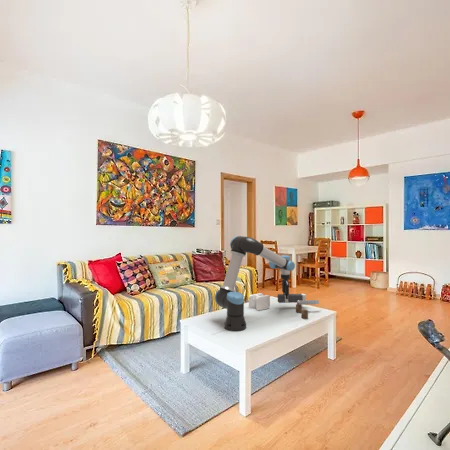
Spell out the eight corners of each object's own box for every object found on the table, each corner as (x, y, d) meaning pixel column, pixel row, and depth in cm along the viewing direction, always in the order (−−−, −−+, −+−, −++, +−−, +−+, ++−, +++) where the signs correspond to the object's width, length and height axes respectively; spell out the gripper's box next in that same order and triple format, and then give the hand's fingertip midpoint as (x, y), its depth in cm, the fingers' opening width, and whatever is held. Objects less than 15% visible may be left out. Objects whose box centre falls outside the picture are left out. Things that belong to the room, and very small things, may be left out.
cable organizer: (256, 311, 232) (256, 297, 232) (248, 308, 241) (248, 294, 241) (270, 308, 240) (270, 294, 240) (261, 305, 249) (261, 292, 249)
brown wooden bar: (302, 318, 214) (302, 310, 214) (295, 311, 231) (295, 304, 231) (308, 318, 214) (307, 310, 214) (300, 311, 231) (300, 304, 231)
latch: (318, 304, 229) (318, 300, 229) (297, 305, 228) (297, 301, 228) (317, 303, 232) (317, 299, 232) (296, 303, 231) (296, 300, 231)
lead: (279, 302, 237) (279, 295, 237) (277, 301, 242) (277, 294, 242) (306, 302, 238) (306, 295, 238) (304, 300, 243) (304, 293, 243)
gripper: (278, 272, 248) (278, 298, 249) (283, 276, 230) (283, 304, 231) (286, 272, 249) (287, 298, 249) (292, 275, 231) (293, 304, 231)
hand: (285, 301), depth 240 cm, fingers closed on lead, 5 cm apart
